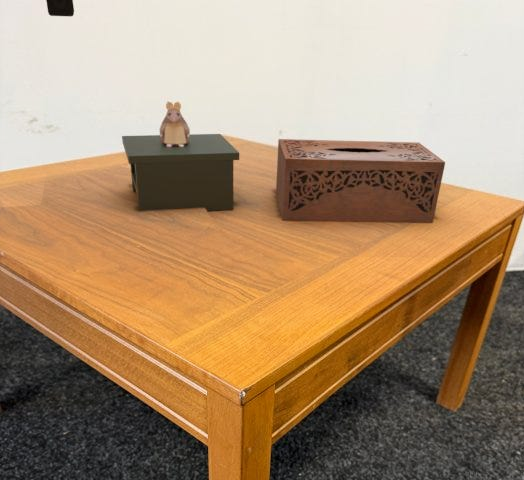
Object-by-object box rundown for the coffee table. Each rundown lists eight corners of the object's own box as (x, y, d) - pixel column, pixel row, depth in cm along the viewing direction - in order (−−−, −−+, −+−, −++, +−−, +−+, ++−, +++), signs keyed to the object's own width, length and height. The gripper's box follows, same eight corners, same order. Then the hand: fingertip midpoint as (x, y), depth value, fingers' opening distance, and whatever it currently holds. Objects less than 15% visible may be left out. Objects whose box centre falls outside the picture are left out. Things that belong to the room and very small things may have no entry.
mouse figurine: (189, 137, 99) (188, 96, 96) (190, 147, 92) (189, 104, 89) (160, 137, 98) (158, 96, 95) (159, 147, 92) (156, 103, 88)
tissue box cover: (282, 220, 92) (285, 158, 86) (275, 194, 104) (278, 139, 98) (432, 222, 93) (445, 162, 88) (409, 196, 106) (418, 142, 100)
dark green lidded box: (133, 215, 91) (128, 156, 86) (127, 189, 103) (121, 135, 98) (238, 209, 96) (239, 152, 91) (220, 185, 108) (220, 133, 103)
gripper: (13, -139, 73) (37, 12, 82) (-2, -170, 59) (29, 16, 68) (72, -133, 75) (89, 13, 84) (71, -162, 61) (91, 18, 70)
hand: (62, 14), depth 76 cm, fingers open, 9 cm apart
